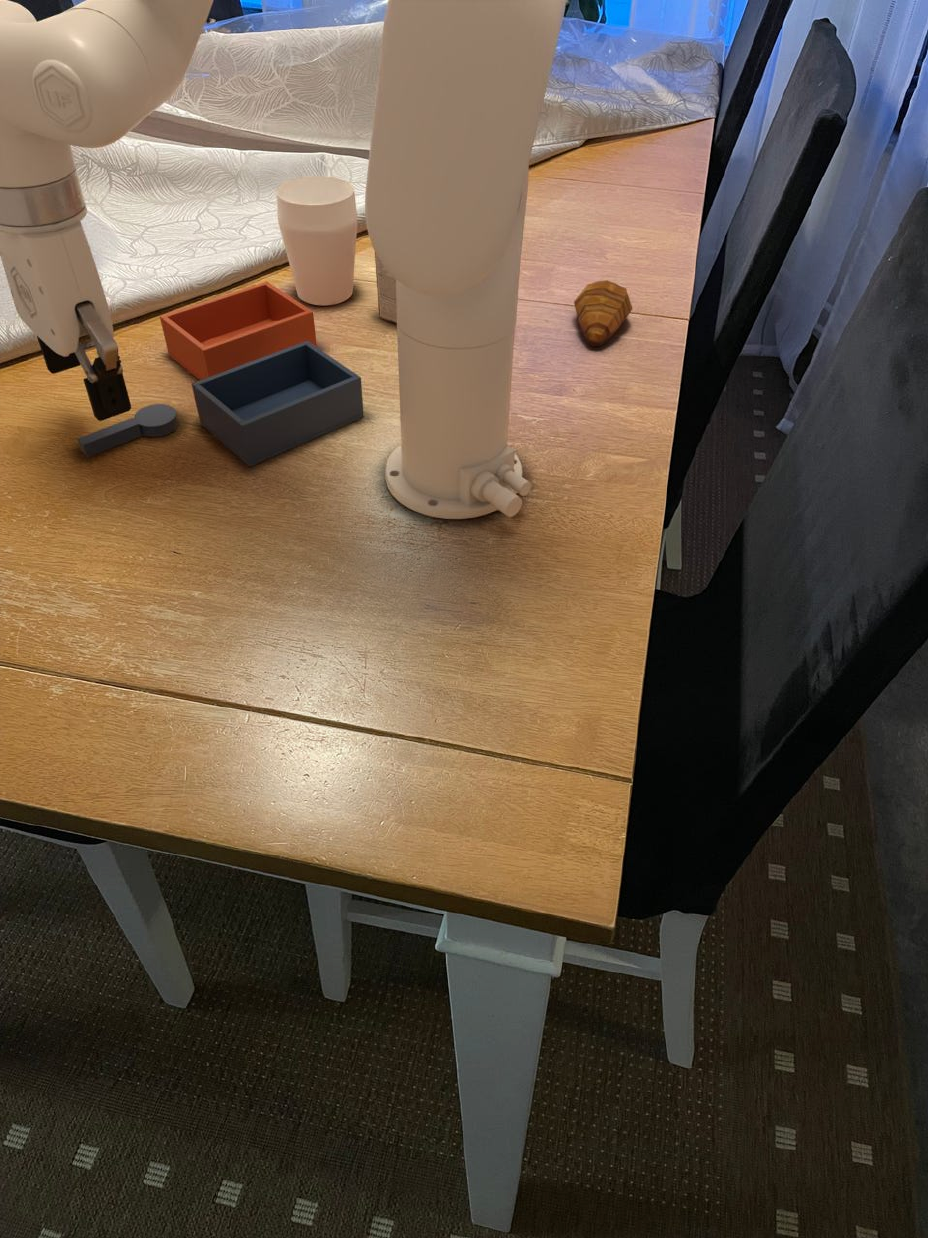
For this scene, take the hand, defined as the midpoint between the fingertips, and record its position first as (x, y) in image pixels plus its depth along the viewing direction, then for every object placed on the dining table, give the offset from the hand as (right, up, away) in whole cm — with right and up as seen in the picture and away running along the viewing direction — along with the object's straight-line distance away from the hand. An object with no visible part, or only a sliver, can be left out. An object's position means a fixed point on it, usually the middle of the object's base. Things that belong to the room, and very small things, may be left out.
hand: (89, 390), depth 80 cm
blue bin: (+16, -1, +7) cm, 18 cm away
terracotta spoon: (+10, +9, +16) cm, 21 cm away
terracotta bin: (+10, +8, +16) cm, 21 cm away
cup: (+17, +19, +27) cm, 37 cm away
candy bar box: (+29, +16, +25) cm, 42 cm away
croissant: (+50, +14, +23) cm, 57 cm away
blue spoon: (+2, -3, +5) cm, 6 cm away
